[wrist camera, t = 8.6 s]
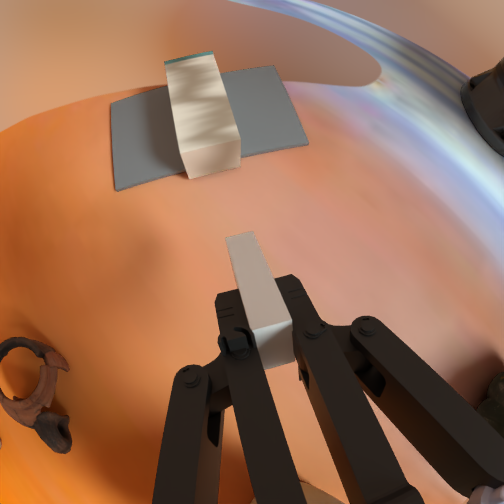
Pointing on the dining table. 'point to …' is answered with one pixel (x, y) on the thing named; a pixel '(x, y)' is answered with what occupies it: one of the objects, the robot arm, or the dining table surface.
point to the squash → (494, 404)
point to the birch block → (202, 115)
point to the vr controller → (40, 397)
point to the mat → (164, 133)
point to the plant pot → (314, 496)
